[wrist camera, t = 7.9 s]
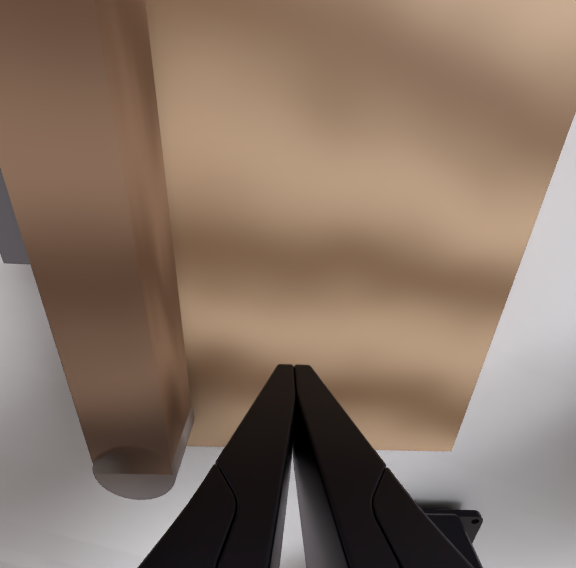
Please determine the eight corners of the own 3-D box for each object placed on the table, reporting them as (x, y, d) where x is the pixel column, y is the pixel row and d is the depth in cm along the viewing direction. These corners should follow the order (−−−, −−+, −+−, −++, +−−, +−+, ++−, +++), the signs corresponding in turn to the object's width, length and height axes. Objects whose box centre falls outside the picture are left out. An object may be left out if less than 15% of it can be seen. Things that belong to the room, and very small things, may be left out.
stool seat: (435, 421, 19) (477, 499, 15) (127, 414, 18) (82, 493, 14) (574, -16, 11) (754, -113, 7) (25, -51, 10) (-149, -180, 6)
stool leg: (196, 439, 16) (179, 500, 13) (132, 437, 16) (101, 499, 13) (147, -14, 9) (85, -82, 6) (29, -20, 9) (-86, -92, 6)
